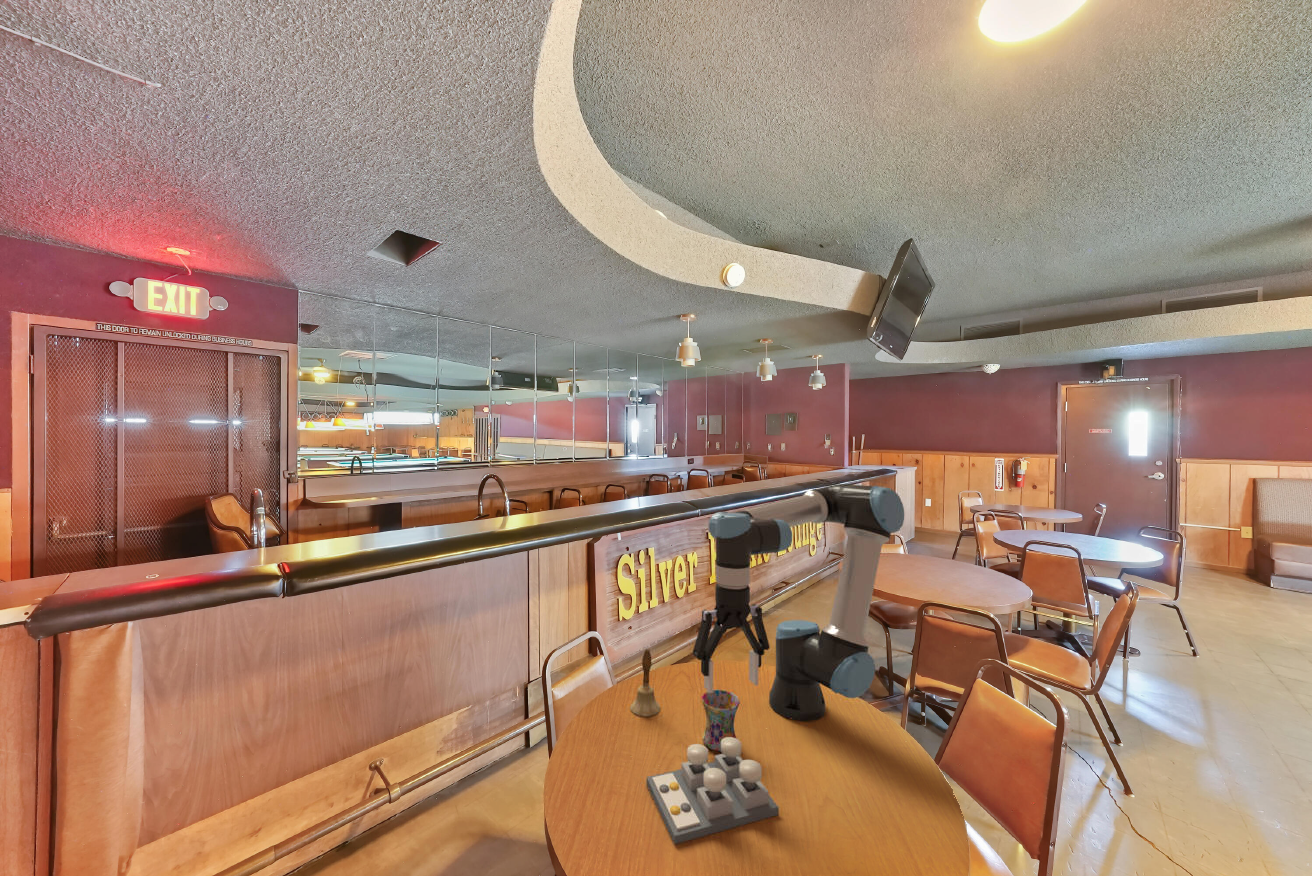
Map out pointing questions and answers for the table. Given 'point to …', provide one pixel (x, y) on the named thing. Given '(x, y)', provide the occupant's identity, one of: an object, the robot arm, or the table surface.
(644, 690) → the hand bell
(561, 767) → the table surface
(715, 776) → the button
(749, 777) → the button
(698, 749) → the button
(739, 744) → the button
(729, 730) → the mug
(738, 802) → the board
